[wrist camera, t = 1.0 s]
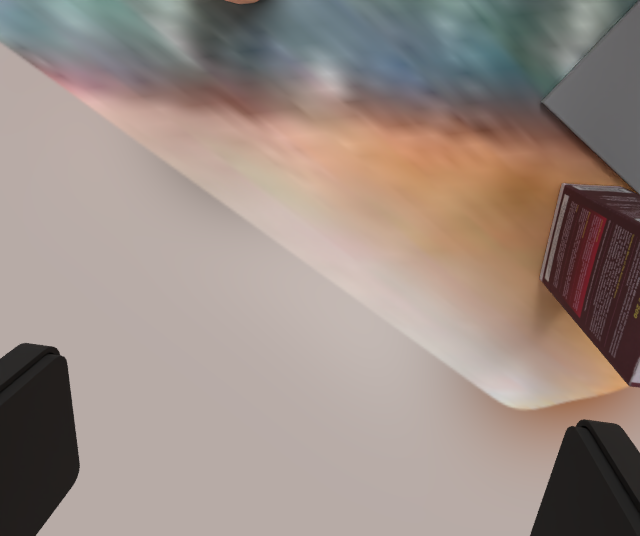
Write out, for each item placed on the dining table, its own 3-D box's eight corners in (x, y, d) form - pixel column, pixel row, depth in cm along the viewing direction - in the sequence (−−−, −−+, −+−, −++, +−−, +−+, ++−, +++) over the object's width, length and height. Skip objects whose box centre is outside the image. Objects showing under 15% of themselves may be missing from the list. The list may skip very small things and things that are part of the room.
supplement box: (595, 284, 41) (715, 400, 26) (537, 279, 42) (622, 390, 27) (624, 183, 38) (779, 251, 23) (560, 178, 38) (672, 243, 24)
